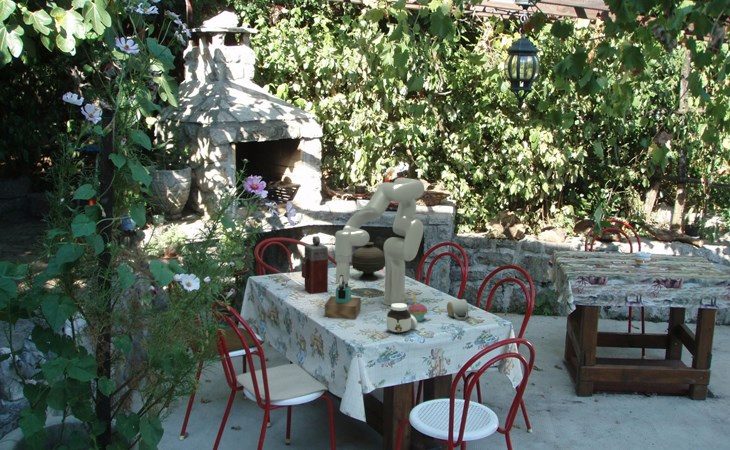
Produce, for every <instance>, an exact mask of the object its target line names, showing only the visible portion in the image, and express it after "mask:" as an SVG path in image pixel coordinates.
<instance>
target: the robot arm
mask: <svg viewBox="0 0 730 450" xmlns="http://www.w3.org/2000/svg"><path fill="white" fill-rule="evenodd" d="M424 193H425V185H424V183H423V182H422V181H420V180H419V179H414V178H409V177H408V178H407V177H398V178H395V180H394V181H393V182H387V181H386V182H382V183H381V184H379V185H378V187H377V189H376V190H375V192H374V193H373V194H372V197H371V198H370V199H369V201H368V202H367V204H366V205H365V206H364V207H363V208H361V209H360V210H358V211H357V212H355V213H354V214H353V215H352V216H351V217H349V219H348V220H347V222H346V223H345V225H344V227H343V229H342V230H337V231H336V232H335V235H334V236H335V237H334V238H335V240H334V242H335V243H334V246H335V248H334V249H335V250H334V251H335V252H334V253H335V254H334V262H336V268H335V269H336V271H335V284H336V285H338V286H339V288H338V298H339V299H345V287H349V282H350V281H349V280H350V271H351V270H350V269H351V268H350V267H351V266H350V263H352V254H353V247H365V245H366V244H367V243H368V242H370V240H371V239H370V234H369V232H367V231H366V230H364V229H361V227H362V226H363V225H365V224H366V223H368V222H371V221H375V220H377V219H380V218H381V217H382V216H383V215H384V213H385V211H386V210H387V209H388V206H389V205H390V204H391V203H392V202H393V203H398V205H397V206H398V207H397V210H396V214H395V217H394V220H393V223H392V231H393V233H394V234H396V235H398V236H401V237H404V238H401V237H397V236H396V237H395V236H394V237H393V236H392V237H389V238H387V239H386V240H385V241H384V243H383V253H384V255H385V265H384V271H385V272H384V274H385V275H384V297H383V298H381V303H382V304H383V305H386V306H391V305H392V304H394V303H403V304H406V305H407V304H408V302H409V301H414V295H410V294H409V295H408V294H407V292H406V290H405V289H406V288H405V287H406V262H411V261H413V260H414V259H415V258H416V256H417V255H418V252H419V248H420V245H421V242H422V239H423V236H424V235H423V234H424V229H425V227H424V223H423V222H422V221H421V219H419V218H416V217H415V215H416V211H417V201H416V199H419V198H421V197H422V196H423V195H424Z"/></svg>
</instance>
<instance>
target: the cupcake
mask: <svg viewBox="0 0 730 450" xmlns="http://www.w3.org/2000/svg"><path fill="white" fill-rule="evenodd" d="M413 296H414V300H413V302H414V303H413V304H410V305H409V307H407V310H408V311H409V312H410V314H411V315H413V316H414V317H415V318H416V320H417V322H421V321H423V320H424V317H425V315H426V314H427V313H428V308H427V306H426V305H424V304H423V303H417V302H416V300H417V299H416V295H415V294H413Z"/></svg>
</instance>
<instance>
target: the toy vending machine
mask: <svg viewBox="0 0 730 450" xmlns="http://www.w3.org/2000/svg"><path fill="white" fill-rule="evenodd" d="M328 272H329V247H328V246H326V245H324V244H321V239H320V237H319V236H318V235H317V236H312V244H311V243H310V244H305V245H304V256H303V257H302V260H301V277H302V278H303V279H304V291H305V292H307V293H309V294H310V295H315V294H322V293H328V291H329V287H328V286H329V285H328V284H329V278H328V277H329V273H328Z"/></svg>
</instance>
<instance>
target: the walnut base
mask: <svg viewBox="0 0 730 450" xmlns="http://www.w3.org/2000/svg"><path fill="white" fill-rule="evenodd" d="M361 299H362V298H361V297H352V296H351V300H350V302H349V303H335V296H333V295H331V296H330V297H329V298H328V300H327V301H326V302H325V304H324V318H325V317H328V318H327V319H342V320H343V319H345V320H346V319H347V320H357V318H358V316H359V314H360V312H361V311H362V310H361V309H362V308H361V307H362V306H361V305H362V302H361V301H362V300H361Z"/></svg>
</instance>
